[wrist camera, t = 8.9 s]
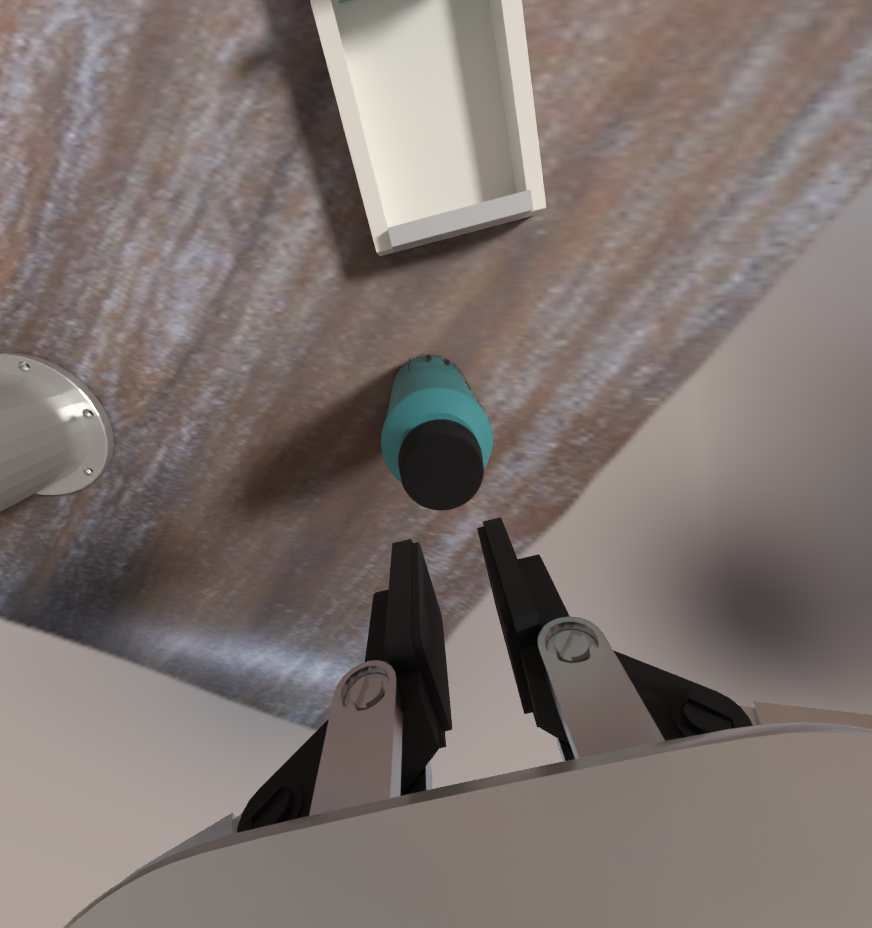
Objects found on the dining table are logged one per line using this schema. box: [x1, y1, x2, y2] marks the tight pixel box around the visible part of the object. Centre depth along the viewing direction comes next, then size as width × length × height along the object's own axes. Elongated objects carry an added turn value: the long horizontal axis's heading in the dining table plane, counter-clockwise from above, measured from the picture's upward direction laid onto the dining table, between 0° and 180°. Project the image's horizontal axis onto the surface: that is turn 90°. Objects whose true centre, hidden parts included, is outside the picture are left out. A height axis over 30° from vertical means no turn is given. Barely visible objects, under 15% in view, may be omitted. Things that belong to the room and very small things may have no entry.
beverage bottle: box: [381, 354, 493, 510], centre depth 28 cm, size 6×7×20 cm
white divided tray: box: [310, 0, 546, 256], centre depth 26 cm, size 12×26×4 cm, turn 13°
